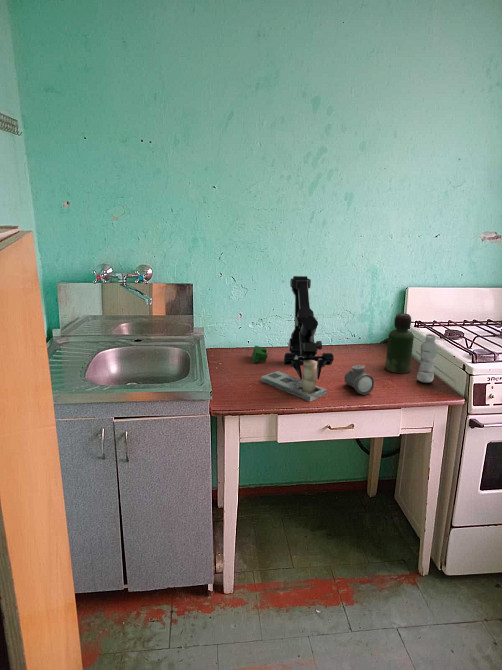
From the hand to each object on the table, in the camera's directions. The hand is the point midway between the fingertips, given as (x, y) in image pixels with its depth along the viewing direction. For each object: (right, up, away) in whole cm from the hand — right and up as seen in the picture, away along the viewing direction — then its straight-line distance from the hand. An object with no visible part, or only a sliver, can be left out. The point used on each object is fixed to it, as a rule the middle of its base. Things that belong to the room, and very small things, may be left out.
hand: (309, 379), depth 179 cm
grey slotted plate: (-6, -4, +9) cm, 11 cm away
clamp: (-18, +5, +39) cm, 43 cm away
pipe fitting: (+20, -5, +9) cm, 22 cm away
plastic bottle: (+50, -3, +18) cm, 53 cm away
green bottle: (+42, +1, +31) cm, 52 cm away
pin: (0, -6, +3) cm, 7 cm away
